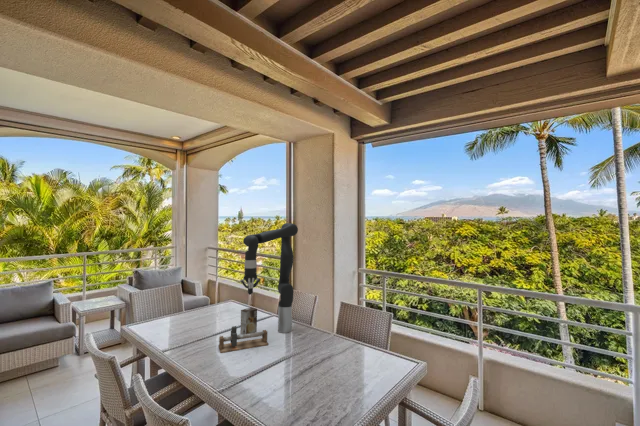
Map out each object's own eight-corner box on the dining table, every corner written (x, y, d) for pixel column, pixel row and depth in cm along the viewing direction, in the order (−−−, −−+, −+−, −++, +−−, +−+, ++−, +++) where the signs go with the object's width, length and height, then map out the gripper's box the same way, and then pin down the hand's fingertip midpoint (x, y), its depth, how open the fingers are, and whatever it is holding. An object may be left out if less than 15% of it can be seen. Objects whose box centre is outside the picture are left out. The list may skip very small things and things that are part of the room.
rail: (264, 339, 182) (264, 328, 183) (268, 345, 174) (268, 333, 174) (218, 346, 170) (218, 334, 170) (220, 353, 161) (221, 340, 161)
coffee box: (250, 330, 198) (251, 306, 198) (256, 332, 194) (257, 308, 194) (239, 333, 190) (240, 309, 191) (245, 336, 186) (246, 311, 187)
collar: (234, 341, 173) (235, 324, 173) (236, 345, 167) (237, 328, 167) (230, 342, 172) (231, 325, 172) (232, 346, 166) (233, 329, 166)
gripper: (259, 265, 187) (258, 291, 186) (238, 266, 181) (238, 294, 180) (262, 267, 180) (262, 294, 180) (241, 268, 174) (241, 296, 173)
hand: (250, 294), depth 180 cm, fingers closed
